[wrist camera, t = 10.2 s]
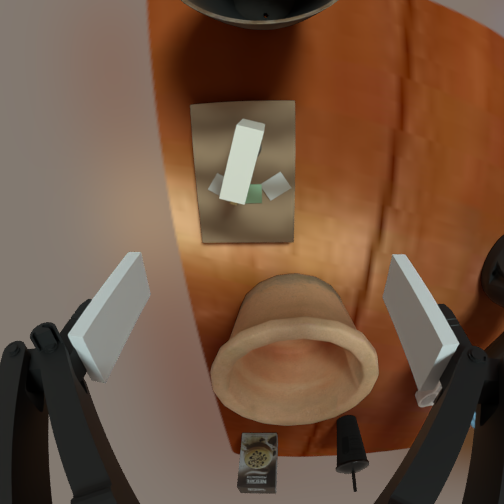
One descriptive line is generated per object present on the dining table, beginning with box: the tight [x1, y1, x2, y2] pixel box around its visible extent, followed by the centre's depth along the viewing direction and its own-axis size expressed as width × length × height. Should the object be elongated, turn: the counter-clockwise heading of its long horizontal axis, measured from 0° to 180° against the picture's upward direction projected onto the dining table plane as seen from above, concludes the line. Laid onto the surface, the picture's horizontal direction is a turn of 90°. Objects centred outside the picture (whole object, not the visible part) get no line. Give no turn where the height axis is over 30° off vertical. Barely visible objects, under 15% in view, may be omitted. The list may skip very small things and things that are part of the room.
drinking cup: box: [336, 415, 369, 492], centre depth 57 cm, size 8×8×20 cm
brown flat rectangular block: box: [190, 100, 295, 243], centre depth 38 cm, size 18×12×2 cm, turn 2°
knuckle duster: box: [415, 380, 442, 407], centre depth 58 cm, size 3×18×15 cm
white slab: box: [219, 119, 265, 205], centre depth 32 cm, size 2×11×9 cm, turn 166°
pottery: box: [210, 273, 379, 426], centre depth 43 cm, size 22×22×14 cm
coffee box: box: [237, 433, 278, 493], centre depth 64 cm, size 9×6×16 cm
